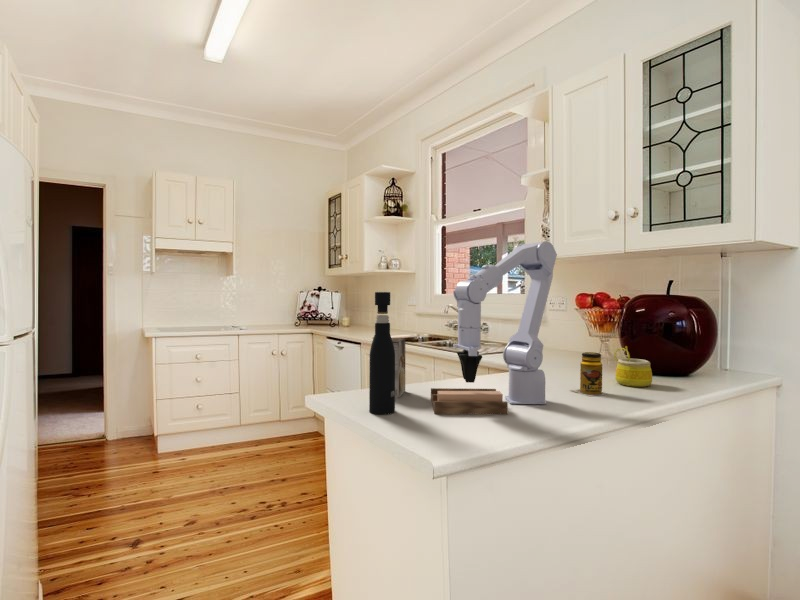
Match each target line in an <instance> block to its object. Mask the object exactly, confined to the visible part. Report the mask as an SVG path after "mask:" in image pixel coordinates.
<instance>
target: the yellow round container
mask: <svg viewBox="0 0 800 600" xmlns="http://www.w3.org/2000/svg"><path fill="white" fill-rule="evenodd" d="M621 350H623V352H622V353H621ZM617 352H618V353H619V354H617ZM625 352H626V354H627V355H624V354H625ZM617 357H619V359H617ZM625 357H627V358H625ZM614 359H615V361H616V362H617V365H616V369H615V376H614V377H615V382H617V383H618V384H620V385H622V386H626V387H632V388H634V387H635V388H645V387H650V386H651V385H652V383H653V372H652V368H651V361H649V360H646V359H640V358H631V356H630V352H629V351H628V346H627V345H625V346H624V347H619V348H617V349H616V350H615V351H614Z"/></svg>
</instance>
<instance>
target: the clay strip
mask: <svg viewBox="0 0 800 600" xmlns="http://www.w3.org/2000/svg"><path fill="white" fill-rule="evenodd" d="M503 395H504V394H503V393H502V392H501V391H499V390H496V391H437V401H503V399H504V398H503V397H504V396H503Z"/></svg>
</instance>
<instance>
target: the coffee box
mask: <svg viewBox="0 0 800 600" xmlns="http://www.w3.org/2000/svg"><path fill="white" fill-rule="evenodd" d="M391 338H392V342H393V345H394V350H395V399H396V398H397V399H398V398H400V397H401V396H402V395H403V394H404V393H405V392H406V337H404V338H403V337H401V338H400V337H391Z"/></svg>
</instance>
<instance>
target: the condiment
mask: <svg viewBox="0 0 800 600" xmlns="http://www.w3.org/2000/svg"><path fill="white" fill-rule="evenodd" d="M579 373H580V374H579V375H580V377H579V378H580V379H579V380H580V381H579V382H580V383H579V385H580V387H579V388H578V389H570V390H569V391H572V392H576V393H578V394H581V395H584V396H590V397H593V396H594V397H595V396H605V395H609V393H608V392H607V393H606V392H604V391H603V362H602V354H601V353H599V352H594V351H593V352H592V351H591V352H590V351H589V352H588V351H587V352H582V353H581V362H580V372H579Z"/></svg>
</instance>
